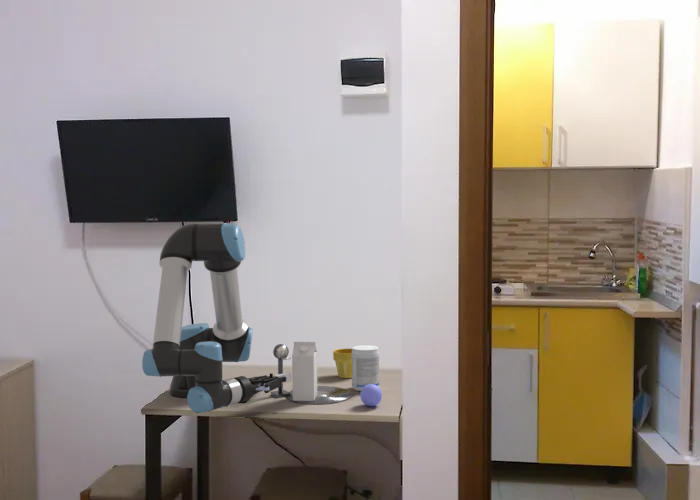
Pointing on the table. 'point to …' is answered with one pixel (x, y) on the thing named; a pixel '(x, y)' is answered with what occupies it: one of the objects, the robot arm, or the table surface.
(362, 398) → the sphere
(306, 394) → the milk carton
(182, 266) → the robot arm
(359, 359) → the supplement tub
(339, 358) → the plant pot
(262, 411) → the table surface
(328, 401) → the turntable
